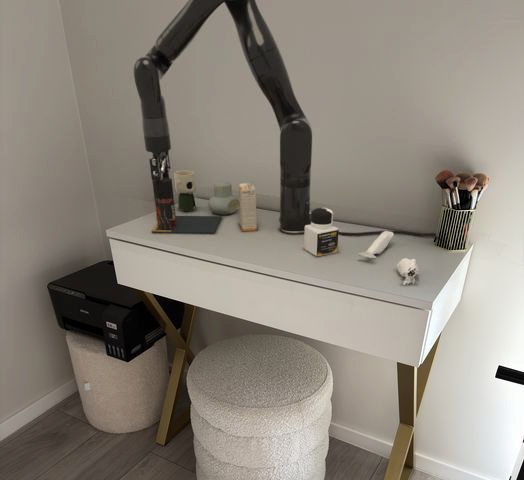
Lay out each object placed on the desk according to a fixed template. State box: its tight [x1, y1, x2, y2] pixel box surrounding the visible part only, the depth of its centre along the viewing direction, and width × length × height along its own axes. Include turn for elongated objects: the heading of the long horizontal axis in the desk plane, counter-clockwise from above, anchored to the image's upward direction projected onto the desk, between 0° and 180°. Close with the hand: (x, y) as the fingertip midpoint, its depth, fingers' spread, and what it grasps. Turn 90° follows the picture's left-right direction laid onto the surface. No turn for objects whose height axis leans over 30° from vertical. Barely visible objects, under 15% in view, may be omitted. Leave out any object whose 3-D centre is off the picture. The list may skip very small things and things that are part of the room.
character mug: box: [173, 169, 197, 212], centre depth 185 cm, size 11×7×13 cm, turn 155°
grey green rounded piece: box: [207, 180, 240, 216], centre depth 183 cm, size 11×8×10 cm
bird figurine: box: [395, 257, 420, 286], centre depth 136 cm, size 5×7×10 cm
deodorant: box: [151, 177, 177, 230], centre depth 168 cm, size 6×6×15 cm
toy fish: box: [356, 230, 395, 259], centre depth 151 cm, size 6×18×4 cm, turn 149°
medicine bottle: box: [303, 207, 340, 257], centre depth 151 cm, size 7×7×12 cm
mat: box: [151, 215, 223, 235], centre depth 175 cm, size 20×16×1 cm
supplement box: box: [238, 182, 258, 232], centre depth 169 cm, size 8×5×13 cm, turn 8°
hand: (163, 188), depth 165 cm, fingers open, 8 cm apart
